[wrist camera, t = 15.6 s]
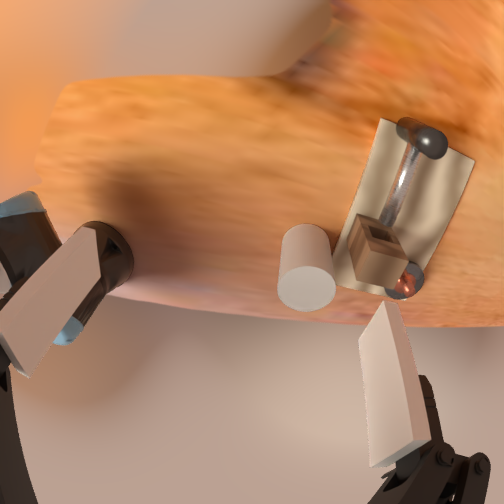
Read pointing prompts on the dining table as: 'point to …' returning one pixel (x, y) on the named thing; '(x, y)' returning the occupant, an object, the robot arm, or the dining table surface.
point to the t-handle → (411, 162)
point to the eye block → (408, 220)
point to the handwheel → (407, 282)
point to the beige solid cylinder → (306, 269)
